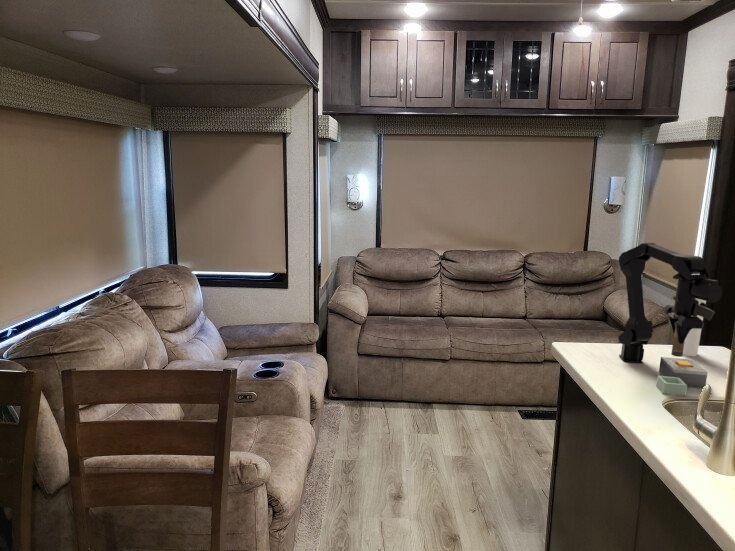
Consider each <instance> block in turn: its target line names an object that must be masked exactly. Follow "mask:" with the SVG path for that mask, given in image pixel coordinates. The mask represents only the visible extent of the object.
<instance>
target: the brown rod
mask: <svg viewBox="0 0 735 551" xmlns="http://www.w3.org/2000/svg"><path fill="white" fill-rule="evenodd" d="M676 323H678V321H677V322H676ZM672 341H673V342H672V348H671V356H674V357H676V358H682V357H683V356H684V355H683V349H684V342H685V340H684V342H683V344H680V343H679V341H678V337H677V332H676V328H675V333H674V334H673V340H672Z"/></svg>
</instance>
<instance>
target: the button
mask: <svg viewBox="0 0 735 551" xmlns="http://www.w3.org/2000/svg"><path fill="white" fill-rule="evenodd" d="M676 364H677V365H678V366H683V367H691V364H690V363H688V362H687V361H676Z"/></svg>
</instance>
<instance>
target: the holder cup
mask: <svg viewBox="0 0 735 551" xmlns="http://www.w3.org/2000/svg"><path fill="white" fill-rule="evenodd" d="M656 377H657V379H656V388H657V389H658V390H659V391H660V392H661V393H662V395H671V396H681V397H682V396H683V397H686V396H687V395H686V394H687V388H688V387H687V385H686V384H685V383H684V382H683V381H682V380H681V379H680V378H678V377H666V376H662V375H657V376H656Z"/></svg>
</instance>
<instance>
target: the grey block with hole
mask: <svg viewBox="0 0 735 551" xmlns="http://www.w3.org/2000/svg"><path fill="white" fill-rule="evenodd" d="M659 361H660V363H659V367H658V373H659V374H660V376H666V377H678V378H680V379H681V380H682V381H683V382H684V383H685V384H686V385H687V388H694V389H704V388H703V387H704V386H705V387H706V384H707V378H708V371H707V370H706V369H705V368H703V366H701V365H699V364H698V363H697V362H696V361H695V360H694V359H690V358H682V357H667V356H666V357H665V356H661V357H660V360H659ZM676 361H687V362H688V363H690V364H691V367H683V366H678V365H677V364H676Z"/></svg>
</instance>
